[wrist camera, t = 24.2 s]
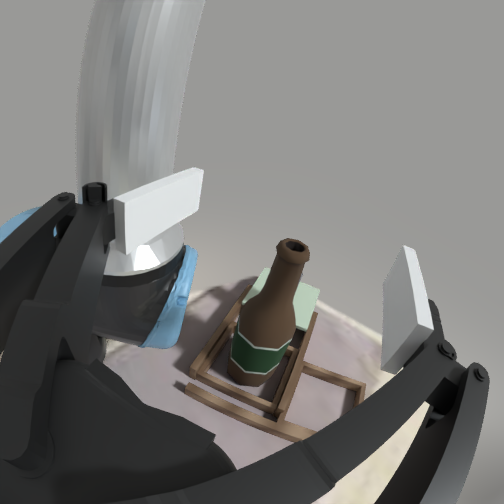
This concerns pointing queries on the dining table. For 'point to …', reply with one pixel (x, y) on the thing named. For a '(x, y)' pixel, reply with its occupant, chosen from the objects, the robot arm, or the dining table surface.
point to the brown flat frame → (275, 407)
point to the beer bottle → (268, 319)
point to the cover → (302, 299)
